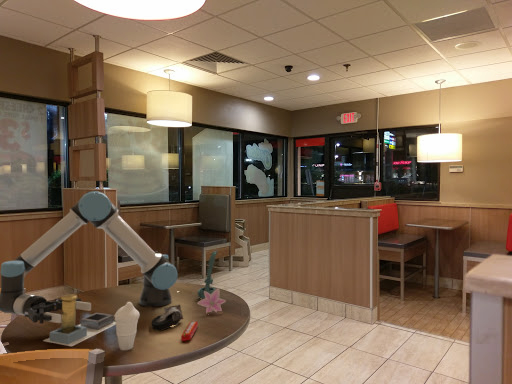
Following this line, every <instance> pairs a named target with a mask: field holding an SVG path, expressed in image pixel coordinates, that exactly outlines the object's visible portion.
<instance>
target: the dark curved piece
mask: <svg viewBox="0 0 512 384" xmlns="http://www.w3.org/2000/svg"><path fill="white" fill-rule="evenodd" d="M217 254H218V250H215V251H212V253H211V254H210V257H209V258H208V259H209V260H208V263H207V265H208V268H207V269H206V274H207V275H206V278H205V279H204V280H203V281H204V283H205V285H204V287H200V288H199V289H198V290H197V297H198V298H199V297H200V298H202V299H205V295H204V291H206V292H208V293H210V294H212V293H213V292H214V291H215V290H216V288H215V287H212V286H210V285H213V283H214V278H212V271H213V267H214V263H215V260H216V256H217Z"/></svg>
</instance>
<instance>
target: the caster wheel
mask: <svg viewBox="0 0 512 384" xmlns="http://www.w3.org/2000/svg"><path fill="white" fill-rule="evenodd" d="M163 311H164V312H163V313H161V314H160V315H158V316H156V317H154V318H153V319H152V320H151V327H152V329H153V330H154V331H157V330H159V331H163V330H167V329H170V328H169V327H170V326H172V325H176V326H175V327H177V326H178V325H179V323H180V321H181V320H184V316H183V312H182V307H181V304H176V305H170V306H167V307H164V308H163Z"/></svg>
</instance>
